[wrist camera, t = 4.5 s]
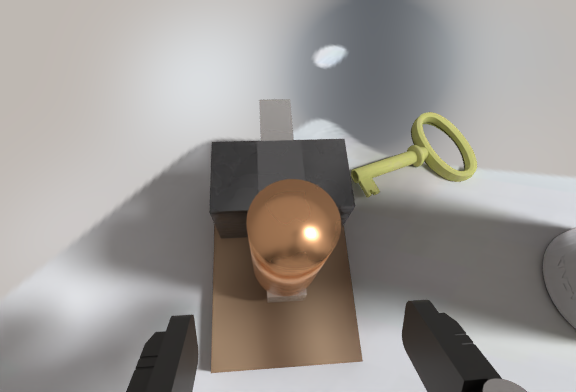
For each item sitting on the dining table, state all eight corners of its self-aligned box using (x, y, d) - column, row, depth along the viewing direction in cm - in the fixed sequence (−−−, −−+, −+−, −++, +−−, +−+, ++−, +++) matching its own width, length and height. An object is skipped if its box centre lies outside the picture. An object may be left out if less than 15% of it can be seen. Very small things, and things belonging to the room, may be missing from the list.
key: (341, 183, 30) (346, 172, 28) (427, 111, 34) (437, 97, 32) (403, 244, 28) (414, 236, 26) (487, 160, 32) (501, 147, 30)
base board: (334, 181, 29) (336, 175, 28) (358, 360, 24) (362, 361, 23) (217, 185, 29) (215, 179, 28) (213, 372, 23) (211, 372, 22)
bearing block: (330, 176, 28) (344, 138, 23) (338, 233, 26) (355, 205, 21) (221, 179, 28) (211, 142, 23) (220, 238, 26) (209, 211, 21)
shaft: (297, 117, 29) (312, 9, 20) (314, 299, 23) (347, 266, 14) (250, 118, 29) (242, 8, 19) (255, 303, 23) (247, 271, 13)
